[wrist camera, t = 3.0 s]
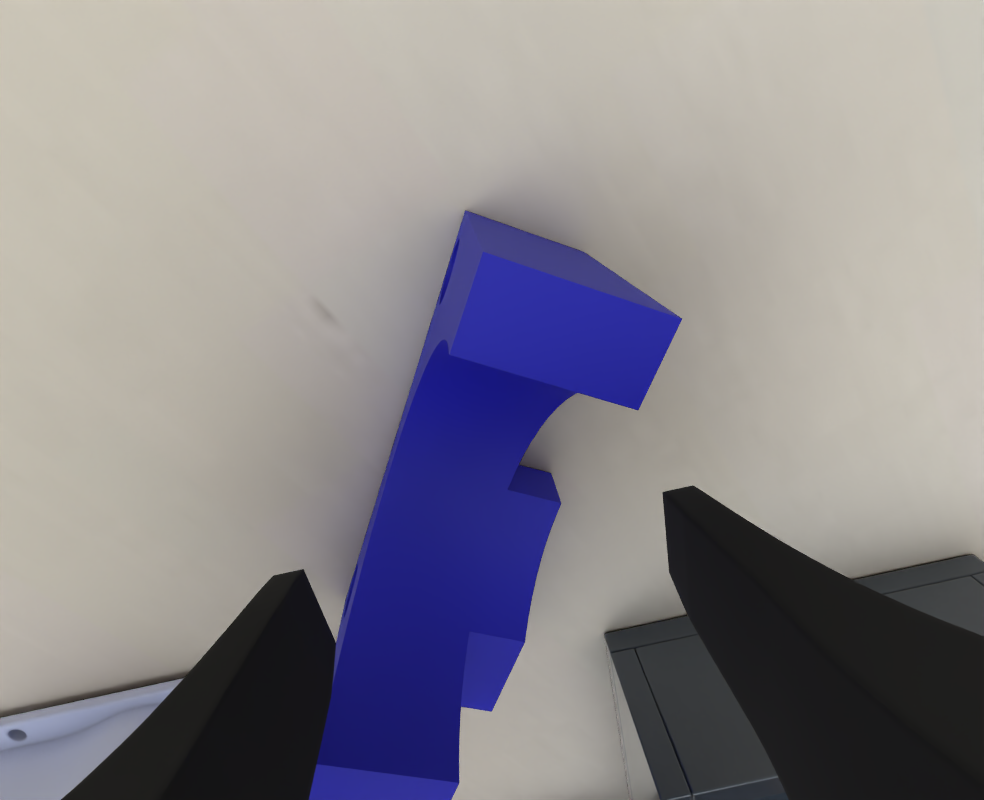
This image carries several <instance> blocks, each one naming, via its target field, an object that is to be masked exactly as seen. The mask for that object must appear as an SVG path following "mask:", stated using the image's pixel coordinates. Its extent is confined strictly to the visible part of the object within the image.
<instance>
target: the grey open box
mask: <svg viewBox="0 0 984 800" xmlns="http://www.w3.org/2000/svg"><path fill="white" fill-rule="evenodd" d="M853 581H855V582H857V583H859V584H862V585H864V586H866V587H868V588H870V589H872V590H874V591H877V592H879V593H881V594H883V595H885V596H887V597H890V598H892V599H894V600H896V601H898V602H901V603H903V604H905V605H907V606H909V607H912V608H914V609H916V610H919V611H921V612H924V613H926V614H928V615H931V616H933V617H936V618H938V619H940V620H943V621H946V622H948V623H951V624H953V625H956V626H959V627H961V628H964V629H966V630H969V631H971V632H974V633H977V634H979V635H982V636H984V562H983V561H982V560H980V559H979V558H978V557H976V556H975V555H973V554H971V555H966V556H961V557H957V558H952V559H948V560H943V561H938V562H934V563H929V564H924V565H920V566H915V567H911V568H906V569H901V570H897V571H892V572H887V573H883V574H878V575H873V576H869V577H864V578H860V579H855V580H853ZM604 639H605V645H606V652H607V658H608V664H609V671H610V677H611V684H612V690H613V696H614V703H615V709H616V715H617V722H618V728H619V735H620V741H621V747H622V754H623V760H624V766H625V773H626V779H627V785H628V792H629V798H630V800H789V799H788V797H787V795H786V792H785V790H784V788H783V786H782V784H781V782H780V780H779V778H778V776H777V773H776V771H775V769H774V767H773V765H772V763H771V761H770V759H769V757H768V755H767V753H766V751H765V749H764V747H763V745H762V743H761V742H760V740H759V738H758V736H757V734H756V732H755V730H754V729H753V727H752V725H751V723H750V722H749V720H748V718H747V717H746V715H745V713H744V712H743V710H742V708H741V706H740V705H739V703H738V701H737V700H736V698H735V696H734V695H733V693H732V691H731V689H730V688H729V686H728V684H727V683H726V681H725V679H724V677H723V676H722V674H721V672H720V671H719V669H718V667H717V666H716V664H715V662H714V660H713V659H712V657H711V655H710V654H709V652H708V650H707V648H706V647H705V645H704V643H703V642H702V640H701V638H700V636H699V635H698V633H697V631H696V629H695V628H694V626H693V624H692V622H691V621H690V619H689V616H684V617H679V618H674V619H670V620H665V621H660V622H656V623H651V624H647V625H642V626H637V627H633V628H628V629H623V630H619V631H614V632H610V633H605V634H604Z"/></svg>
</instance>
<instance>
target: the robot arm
mask: <svg viewBox="0 0 984 800" xmlns="http://www.w3.org/2000/svg"><path fill="white" fill-rule="evenodd" d="M663 503H664V515H665V527H666V539H667V551H668V563H669V573H670V575H671V578H672V580H673V582H674V585H675V587H676V589H677V592H678V594H679V596H680V599H681V601H682V603H683V605H684V608H685V610H686V612H687V614H688V616H689V619H690V621H691V622H692V624H693V626H694V628H695V629H696V631H697V633H698V635H699V636H700V638H701V640H702V642H703V643H704V645H705V647H706V648H707V650H708V652H709V654H710V655H711V657H712V659H713V660H714V662H715V664H716V666H717V667H718V669H719V671H720V672H721V674H722V676H723V677H724V679H725V681H726V683H727V684H728V686H729V688H730V689H731V691H732V693H733V695H734V696H735V698H736V700H737V701H738V703H739V705H740V706H741V708H742V710H743V712H744V713H745V715H746V717H747V718H748V720H749V722H750V723H751V725H752V727H753V729H754V730H755V732H756V734H757V736H758V738H759V740H760V742H761V743H762V745H763V747H764V749H765V751H766V753H767V755H768V757H769V759H770V761H771V763H772V765H773V767H774V769H775V771H776V773H777V776H778V778H779V780H780V782H781V784H782V786H783V788H784V790H785V792H786V795H787V797H788V799H789V800H984V636H982V635H979V634H977V633H974V632H971V631H969V630H966V629H964V628H961V627H959V626H956V625H953V624H951V623H948V622H946V621H943V620H940V619H938V618H936V617H933V616H931V615H928V614H926V613H924V612H921V611H919V610H916V609H914V608H912V607H909V606H907V605H905V604H903V603H901V602H898V601H896V600H894V599H892V598H890V597H887V596H885V595H883V594H881V593H879V592H877V591H874V590H872V589H870V588H868V587H866V586H864V585H862V584H859V583H857V582H855V581H853V580H851V579H849V578H847V577H845V576H843V575H841V574H840V573H838V572H836V571H834V570H832V569H830V568H828V567H826V566H825V565H823V564H821V563H819V562H817V561H815V560H813V559H812V558H810V557H808V556H806V555H804V554H802V553H801V552H799V551H797V550H795V549H794V548H792V547H790V546H788V545H787V544H785V543H783V542H782V541H780V540H778V539H777V538H775V537H773V536H772V535H770V534H768V533H767V532H765V531H763V530H762V529H760V528H759V527H757V526H755V525H754V524H752V523H751V522H749V521H747V520H746V519H744V518H743V517H741V516H740V515H738V514H736V513H735V512H733V511H732V510H730V509H729V508H727V507H726V506H724V505H723V504H721V503H720V502H718V501H716V500H715V499H713V498H712V497H710V496H709V495H707V494H706V493H704V492H703V491H701V490H700V489H698V488H696V487H695V486H689V487H684V488H680V489H675V490H670V491H666V492H663ZM335 651H336V642H335V640H334V638H333V635H332V633H331V631H330V629H329V626H328V624H327V622H326V619H325V617H324V615H323V613H322V610H321V608H320V606H319V604H318V601H317V599H316V597H315V594H314V592H313V590H312V588H311V585H310V583H309V581H308V578H307V576H306V574H305V572H304V569H302V570H298V571H293V572H288V573H284V574H279V575H274V576H273V577H272V578H271V579H270V580H269V581H268V582H267V583H266V584H265V585H264V586H263V587H262V589H261V590H260V591H259V592H258V593H257V594H256V595H255V597H254V598H253V599H252V600H251V601H250V602H249V604H248V605H247V606H246V607H245V608H244V610H243V611H242V612H241V613H240V614H239V615H238V617H237V618H236V619H235V620H234V621H233V623H232V624H231V625H230V626H229V627H228V628H227V630H226V631H225V632H224V633H223V634H222V635H221V637H220V638H219V639H218V640H217V641H216V642H215V644H214V645H213V646H212V647H211V648H210V649H209V651H208V652H207V653H206V654H205V655H204V656H203V657H202V659H201V660H200V661H199V662H198V663H197V664H196V666H195V667H194V668H193V669H192V670H191V671H190V672H189V673H188V674H187V675H186V676H185V677H184V678H182V679H178V680H173V681H168V682H164V683H159V684H155V685H150V686H145V687H141V688H136V689H132V690H127V691H122V692H118V693H113V694H108V695H104V696H99V697H95V698H90V699H85V700H81V701H76V702H71V703H67V704H62V705H58V706H53V707H48V708H44V709H39V710H34V711H30V712H25V713H21V714H16V715H11V716H7V717H2V718H0V800H309V796H310V792H311V787H312V783H313V778H314V774H315V769H316V765H317V760H318V756H319V751H320V747H321V742H322V738H323V733H324V728H325V724H326V719H327V714H328V710H329V705H330V700H331V694H332V685H333V675H334V663H335Z"/></svg>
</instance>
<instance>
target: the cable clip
mask: <svg viewBox="0 0 984 800" xmlns="http://www.w3.org/2000/svg"><path fill="white" fill-rule="evenodd" d="M681 320H682V318H680V317H679V316H677V315H676V314H674V313H673V312H671V311H670V310H668V309H667V308H665V307H664V306H662V305H661V304H660V303H658V302H657V301H655V300H654V299H652V298H651V297H649V296H648V295H646V294H645V293H643V292H642V291H640V290H639V289H637V288H636V287H635V286H633V285H632V284H630V283H629V282H627V281H626V280H624V279H623V278H621V277H620V276H618V275H617V274H615V273H614V272H612V271H611V270H610V269H608V268H607V267H605V266H604V265H602V264H601V263H599V262H598V261H596V260H595V259H593V258H592V257H590V256H589V255H587V254H586V253H585V252H582V251H580V250H577V249H574V248H571V247H568V246H565V245H563V244H560V243H557V242H554V241H551V240H548V239H545V238H543V237H540V236H537V235H534V234H531V233H528V232H526V231H523V230H520V229H517V228H514V227H511V226H509V225H506V224H503V223H500V222H497V221H494V220H491V219H489V218H486V217H483V216H480V215H477V214H474V213H472V212H469V211H466V210H465V213H464V216H463V219H462V222H461V226H460V229H459V232H458V235H457V239H456V242H455V245H454V248H453V252H452V255H451V258H450V262H449V265H448V268H447V271H446V275H445V278H444V281H443V284H442V288H441V291H440V294H439V297H438V301H437V304H436V307H435V310H434V314H433V317H432V320H431V323H430V327H429V330H428V333H427V336H426V340H425V343H424V346H423V349H422V353H421V356H420V359H419V362H418V366H417V369H416V372H415V376H414V379H413V382H412V385H411V389H410V392H409V395H408V398H407V402H406V405H405V408H404V411H403V415H402V418H401V421H400V424H399V428H398V431H397V434H396V437H395V441H394V444H393V447H392V450H391V454H390V457H389V460H388V463H387V467H386V470H385V473H384V476H383V480H382V483H381V486H380V489H379V493H378V496H377V499H376V503H375V506H374V509H373V512H372V516H371V519H370V522H369V525H368V529H367V532H366V535H365V538H364V542H363V545H362V548H361V551H360V555H359V558H358V561H357V564H356V568H355V571H354V574H353V577H352V581H351V584H350V587H349V590H348V594H347V597H346V600H345V605H344V610H343V614H342V619H341V624H340V628H339V633H338V637H337V642H336V651H335V663H334V675H333V685H332V694H331V700H330V705H329V710H328V714H327V719H326V724H325V728H324V733H323V738H322V742H321V747H320V751H319V756H318V760H317V765H316V769H315V774H314V778H313V783H312V787H311V792H310V796H309V800H451V799H452V797H453V795H454V793H455V791H456V789H457V786H458V784H459V733H460V712H461V707H467V708H473V709H479V710H485V711H492V710H493V708H494V706H495V703H496V701H497V699H498V697H499V695H500V693H501V691H502V689H503V687H504V685H505V683H506V680H507V678H508V676H509V674H510V672H511V670H512V668H513V666H514V664H515V662H516V660H517V657H518V655H519V653H520V651H521V649H522V647H523V645H524V643H525V637H526V630H527V623H528V616H529V611H530V605H531V600H532V595H533V590H534V586H535V581H536V577H537V573H538V569H539V565H540V562H541V558H542V555H543V551H544V548H545V545H546V542H547V539H548V536H549V533H550V530H551V527H552V525H553V522H554V520H555V517H556V515H557V512H558V510H559V508H560V505H561V501H560V498H559V495H558V492H557V489H556V486H555V483H554V480H553V477H552V475H551V473H548V472H545V471H541V470H537V469H533V468H529V467H525V466H521V465H519V463H520V461H521V459H522V457H523V455H524V453H525V452H526V450H527V448H528V446H529V445H530V443H531V441H532V440H533V438H534V437H535V435H536V434H537V432H538V431H539V429H540V428H541V426H542V425H543V424H544V422H545V421H546V420H547V418H548V417H549V416H550V415H551V414H552V413H553V412H554V411H555V410H556V408H557V407H559V406H560V405H561V404H562V403H563V402H564V401H565V400H567V399H568V398H570V397H571V396H573V395H574V394H576V393H581V394H584V395H588V396H591V397H594V398H598V399H601V400H605V401H608V402H611V403H615V404H618V405H621V406H625V407H628V408H632V409H635V410H639V408H640V406H641V404H642V401H643V399H644V397H645V395H646V393H647V391H648V389H649V387H650V385H651V383H652V381H653V379H654V376H655V374H656V372H657V370H658V368H659V366H660V364H661V362H662V360H663V358H664V356H665V354H666V351H667V349H668V347H669V345H670V343H671V341H672V339H673V337H674V335H675V333H676V331H677V329H678V326H679V324H680V322H681Z"/></svg>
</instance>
